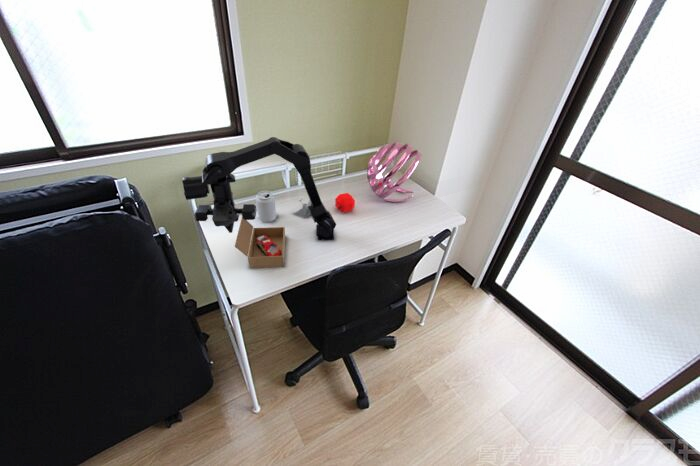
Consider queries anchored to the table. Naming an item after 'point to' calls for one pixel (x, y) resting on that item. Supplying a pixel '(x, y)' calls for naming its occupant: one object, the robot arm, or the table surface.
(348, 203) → the ball
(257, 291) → the table surface
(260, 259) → the carton
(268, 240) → the race car
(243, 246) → the flap
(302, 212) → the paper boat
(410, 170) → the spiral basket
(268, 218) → the can
